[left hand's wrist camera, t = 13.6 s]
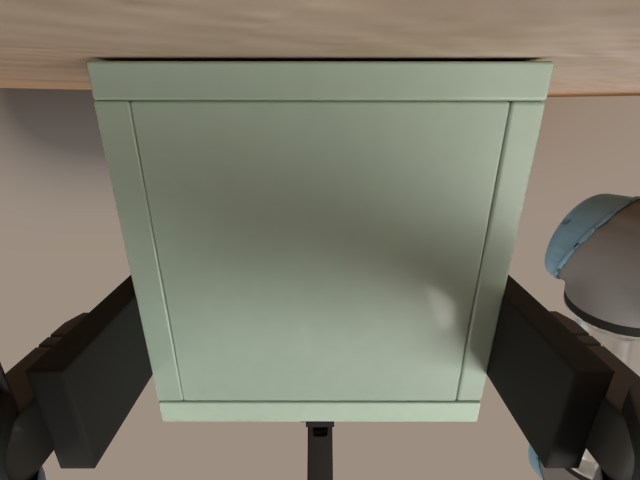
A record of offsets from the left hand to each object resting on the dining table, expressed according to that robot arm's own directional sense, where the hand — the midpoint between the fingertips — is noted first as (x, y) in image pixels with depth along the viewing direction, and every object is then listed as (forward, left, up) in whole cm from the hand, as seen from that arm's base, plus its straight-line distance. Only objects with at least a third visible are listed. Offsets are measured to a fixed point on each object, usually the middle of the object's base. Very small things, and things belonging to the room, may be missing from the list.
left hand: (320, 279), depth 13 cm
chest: (+2, -2, -7) cm, 8 cm away
